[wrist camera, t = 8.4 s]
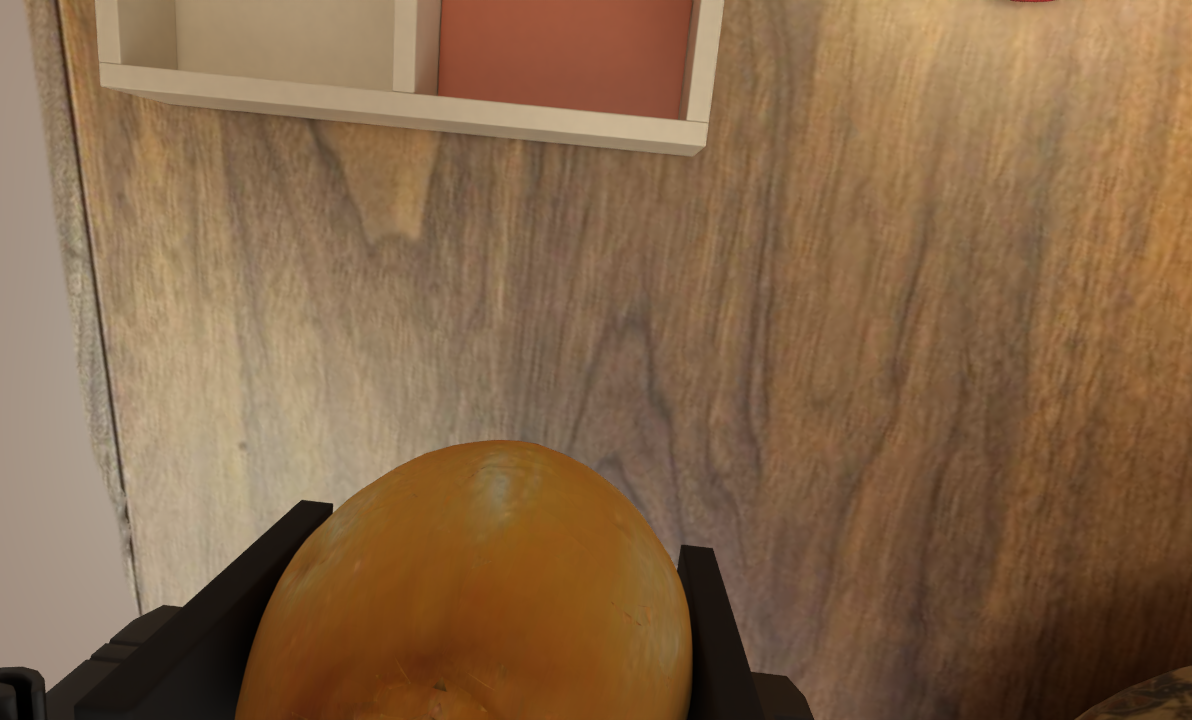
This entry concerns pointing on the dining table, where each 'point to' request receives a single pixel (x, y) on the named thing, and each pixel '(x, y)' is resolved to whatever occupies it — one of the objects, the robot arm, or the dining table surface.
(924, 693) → the dining table surface
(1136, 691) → the ceramic bowl
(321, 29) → the divided tray
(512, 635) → the fruit
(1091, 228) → the dining table surface
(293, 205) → the dining table surface
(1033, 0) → the canned food
